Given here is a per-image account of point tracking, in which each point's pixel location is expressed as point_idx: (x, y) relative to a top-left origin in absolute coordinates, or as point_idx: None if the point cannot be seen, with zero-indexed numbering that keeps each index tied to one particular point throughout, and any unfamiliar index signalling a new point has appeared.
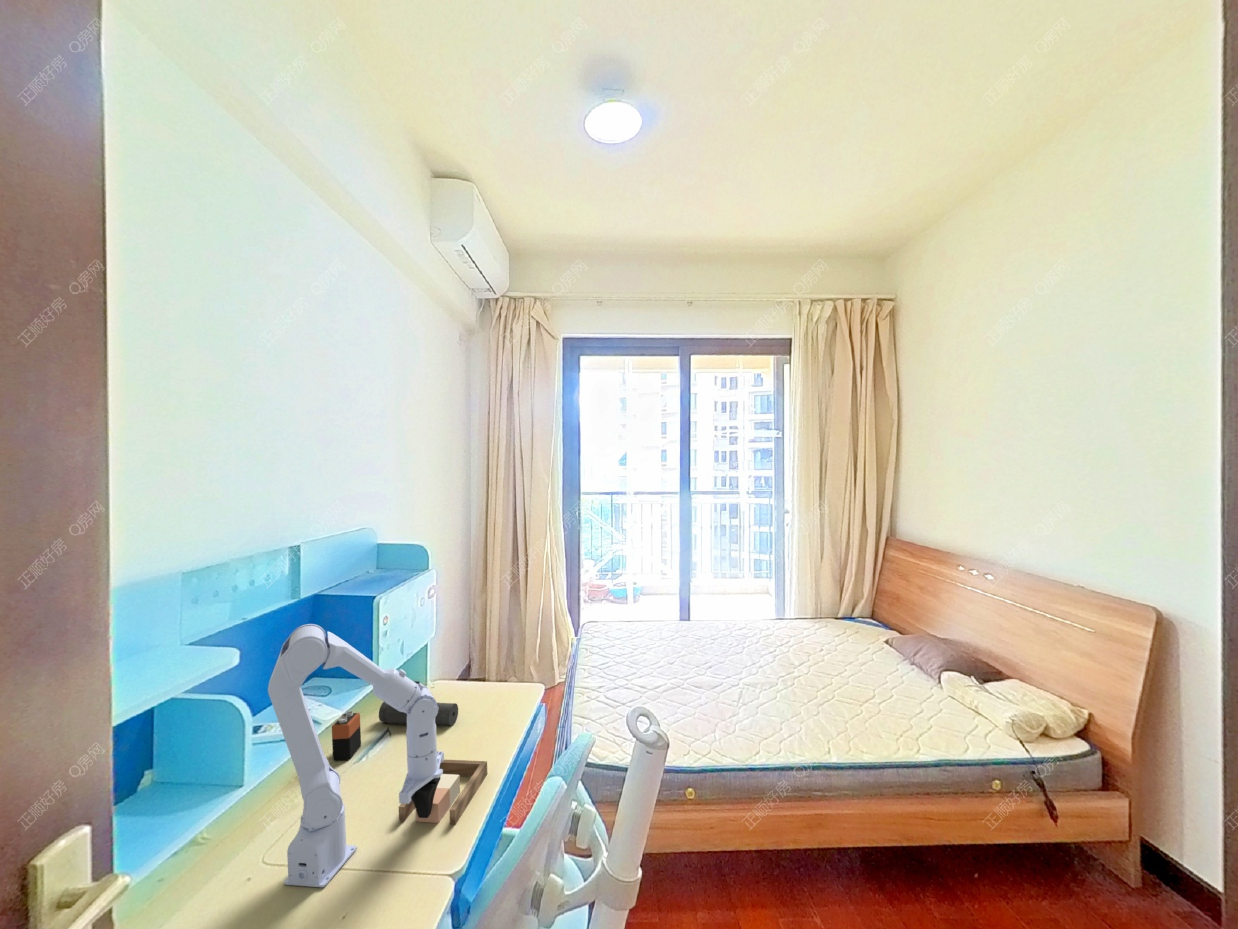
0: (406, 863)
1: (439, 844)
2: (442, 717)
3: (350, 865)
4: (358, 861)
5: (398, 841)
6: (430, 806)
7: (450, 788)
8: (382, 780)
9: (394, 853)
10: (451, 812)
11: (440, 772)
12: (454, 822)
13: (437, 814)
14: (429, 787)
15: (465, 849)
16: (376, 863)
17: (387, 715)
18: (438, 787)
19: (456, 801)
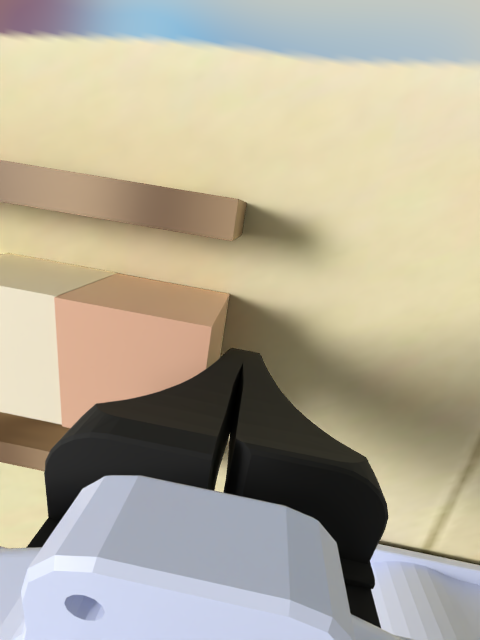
0: (474, 359)
1: (383, 246)
2: None
3: (419, 531)
4: (405, 515)
5: (325, 423)
6: (245, 367)
7: (44, 291)
8: (4, 546)
9: (395, 419)
10: (235, 226)
11: (212, 607)
12: (245, 208)
13: (222, 311)
14: (319, 504)
15: (466, 71)
16: (435, 463)
17: None
18: (53, 367)
19: (151, 215)
